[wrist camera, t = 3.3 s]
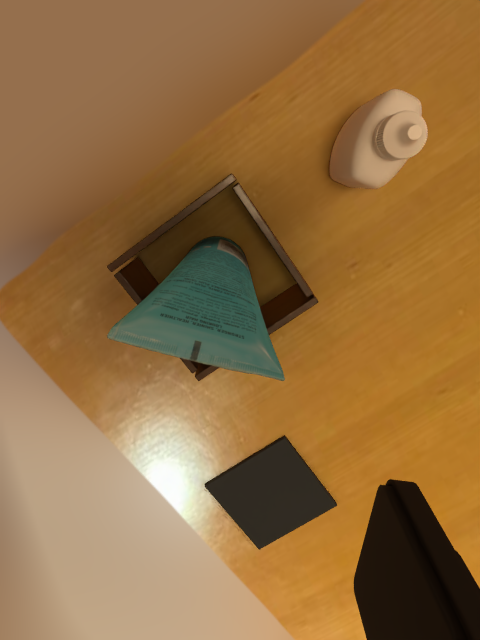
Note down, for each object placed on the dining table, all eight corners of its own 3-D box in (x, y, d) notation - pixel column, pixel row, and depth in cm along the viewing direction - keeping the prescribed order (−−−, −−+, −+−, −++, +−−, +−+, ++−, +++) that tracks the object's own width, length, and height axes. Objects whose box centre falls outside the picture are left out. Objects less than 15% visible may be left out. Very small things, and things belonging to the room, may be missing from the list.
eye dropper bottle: (403, 147, 34) (486, 131, 23) (342, 195, 35) (391, 204, 24) (371, 96, 33) (440, 54, 22) (308, 148, 34) (343, 133, 23)
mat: (258, 546, 45) (259, 549, 45) (204, 483, 43) (204, 486, 43) (336, 502, 44) (337, 505, 43) (284, 435, 41) (284, 437, 41)
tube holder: (204, 351, 39) (198, 381, 33) (127, 252, 37) (106, 266, 31) (306, 283, 37) (319, 302, 32) (232, 174, 35) (231, 173, 29)
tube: (168, 287, 37) (100, 393, 19) (176, 228, 36) (111, 281, 18) (257, 302, 38) (275, 420, 19) (269, 244, 36) (300, 313, 18)
